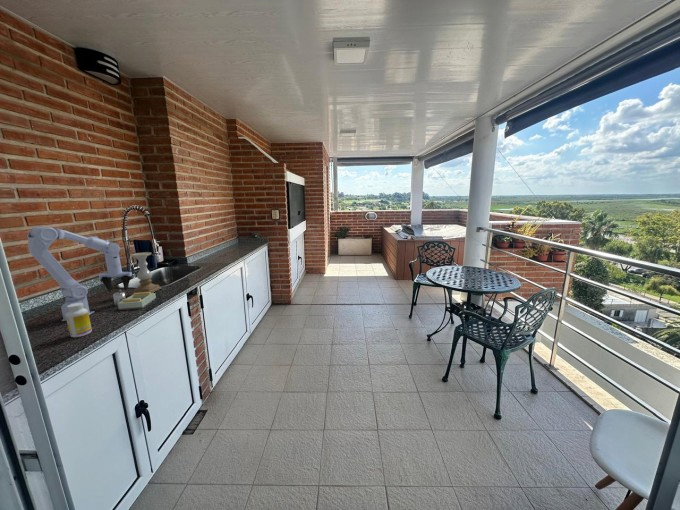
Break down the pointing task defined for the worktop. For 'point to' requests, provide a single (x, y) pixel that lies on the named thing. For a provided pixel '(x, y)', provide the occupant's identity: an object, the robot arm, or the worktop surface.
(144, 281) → the candle holder
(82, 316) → the supplement bottle
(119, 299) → the spout can
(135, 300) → the pale green tray
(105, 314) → the worktop surface
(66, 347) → the worktop surface
